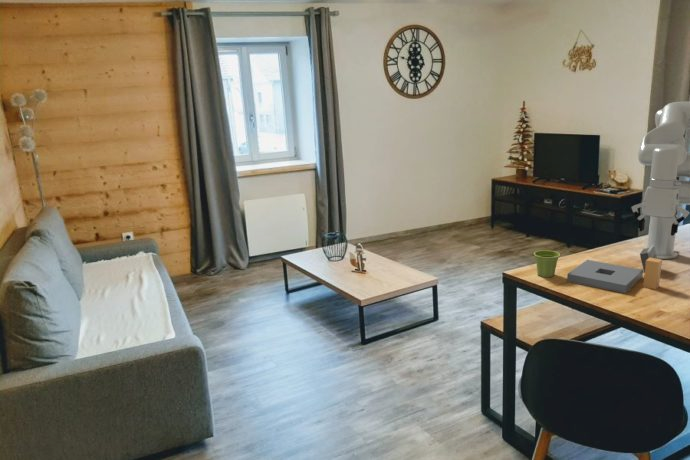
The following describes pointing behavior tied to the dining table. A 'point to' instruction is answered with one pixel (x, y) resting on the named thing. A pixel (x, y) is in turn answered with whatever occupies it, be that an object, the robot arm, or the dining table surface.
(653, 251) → the electrical switch
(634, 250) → the dining table surface
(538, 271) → the plant pot
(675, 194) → the robot arm
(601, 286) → the socket plate
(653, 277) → the plug
